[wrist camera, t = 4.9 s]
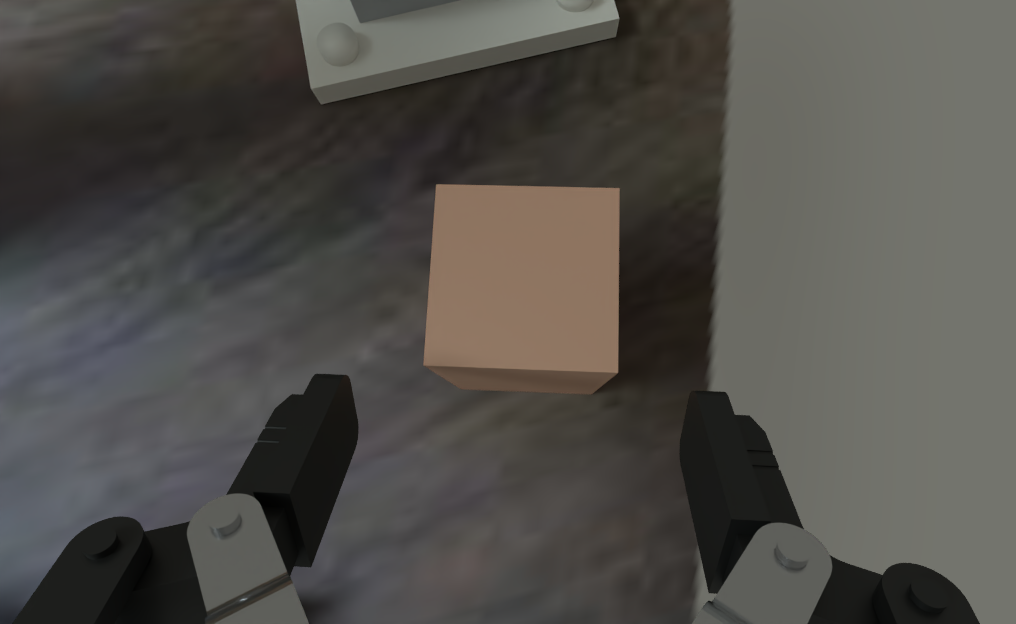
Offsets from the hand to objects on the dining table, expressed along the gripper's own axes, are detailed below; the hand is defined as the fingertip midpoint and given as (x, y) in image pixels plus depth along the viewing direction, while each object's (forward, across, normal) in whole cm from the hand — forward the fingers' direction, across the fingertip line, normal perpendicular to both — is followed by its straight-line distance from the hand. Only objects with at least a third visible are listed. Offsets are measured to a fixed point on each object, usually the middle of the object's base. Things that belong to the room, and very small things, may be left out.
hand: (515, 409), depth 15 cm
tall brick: (+9, 0, +4) cm, 10 cm away
